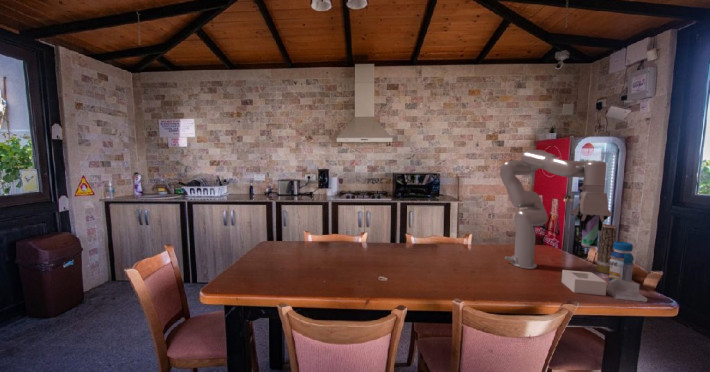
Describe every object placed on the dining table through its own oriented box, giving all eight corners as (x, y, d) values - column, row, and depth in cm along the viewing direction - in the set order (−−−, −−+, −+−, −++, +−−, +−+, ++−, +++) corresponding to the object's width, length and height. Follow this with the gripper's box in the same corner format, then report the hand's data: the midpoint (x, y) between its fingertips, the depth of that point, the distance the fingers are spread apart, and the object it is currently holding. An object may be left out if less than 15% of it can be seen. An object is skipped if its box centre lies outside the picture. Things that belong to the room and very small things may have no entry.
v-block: (600, 288, 136) (601, 276, 136) (629, 291, 134) (630, 279, 133) (615, 298, 126) (616, 286, 125) (647, 301, 123) (648, 289, 123)
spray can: (578, 244, 136) (581, 200, 135) (589, 244, 137) (592, 200, 135) (588, 247, 131) (591, 202, 129) (600, 247, 131) (603, 202, 130)
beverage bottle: (633, 289, 135) (637, 246, 134) (609, 285, 140) (613, 243, 138) (629, 283, 142) (632, 242, 141) (606, 279, 147) (609, 239, 145)
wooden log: (616, 274, 154) (620, 227, 152) (601, 273, 155) (604, 226, 153) (607, 270, 161) (611, 224, 159) (593, 269, 162) (597, 223, 160)
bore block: (574, 292, 131) (575, 279, 131) (561, 282, 143) (562, 269, 142) (605, 295, 129) (606, 282, 128) (590, 284, 140) (591, 272, 140)
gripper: (575, 189, 130) (572, 230, 131) (621, 190, 126) (618, 233, 127) (567, 188, 137) (564, 226, 139) (610, 189, 133) (607, 229, 135)
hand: (590, 229), depth 133 cm, fingers closed on spray can, 5 cm apart
